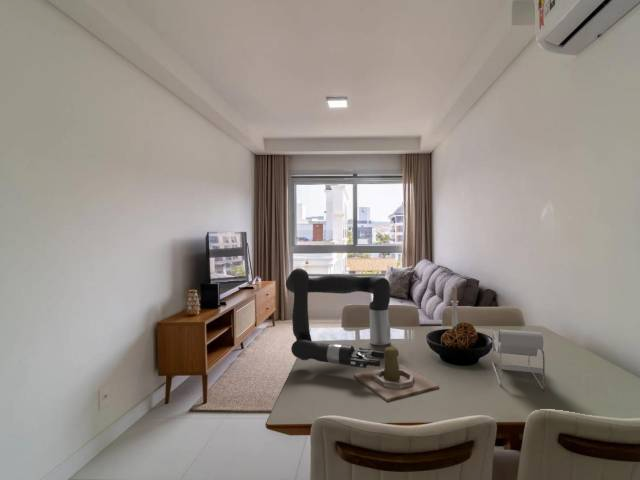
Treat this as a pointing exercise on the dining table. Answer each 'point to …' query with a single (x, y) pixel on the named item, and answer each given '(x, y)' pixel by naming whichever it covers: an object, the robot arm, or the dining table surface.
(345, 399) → the dining table surface
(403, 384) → the collar holder
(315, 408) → the dining table surface
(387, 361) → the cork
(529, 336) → the chair
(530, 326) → the dining table surface
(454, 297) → the candlestick
